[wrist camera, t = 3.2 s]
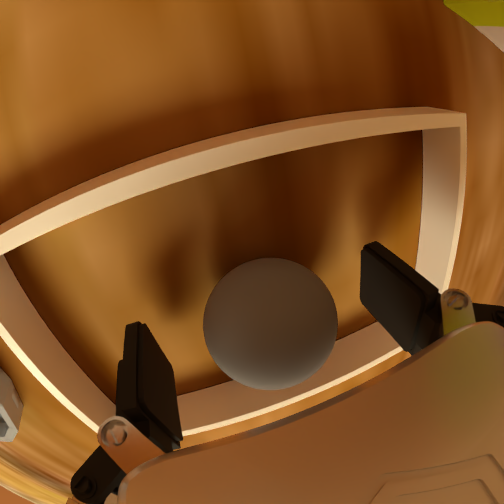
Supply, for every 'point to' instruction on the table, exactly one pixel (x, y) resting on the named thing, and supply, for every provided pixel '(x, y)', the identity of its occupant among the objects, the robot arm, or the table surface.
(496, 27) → the puzzle toy
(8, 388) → the bowl
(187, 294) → the table surface
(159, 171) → the white rectangular frame
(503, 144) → the table surface
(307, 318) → the ball
